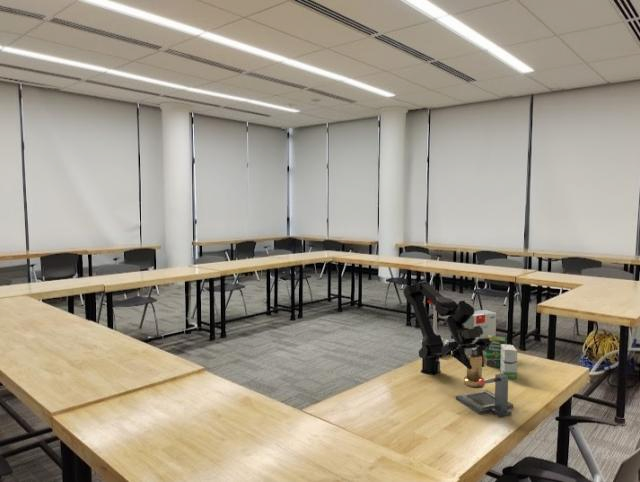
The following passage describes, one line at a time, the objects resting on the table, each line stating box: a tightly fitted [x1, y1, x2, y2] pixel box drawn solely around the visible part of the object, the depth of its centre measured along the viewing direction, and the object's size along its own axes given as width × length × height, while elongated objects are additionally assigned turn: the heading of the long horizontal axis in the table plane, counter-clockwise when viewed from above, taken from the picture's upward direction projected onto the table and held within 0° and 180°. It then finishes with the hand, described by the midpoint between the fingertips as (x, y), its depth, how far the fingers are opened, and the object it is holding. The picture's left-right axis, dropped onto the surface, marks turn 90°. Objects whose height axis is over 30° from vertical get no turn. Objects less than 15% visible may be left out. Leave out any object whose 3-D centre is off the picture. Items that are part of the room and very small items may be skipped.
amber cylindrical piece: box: [463, 350, 485, 389], centre depth 161 cm, size 7×7×12 cm
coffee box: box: [485, 335, 507, 368], centre depth 194 cm, size 8×3×13 cm, turn 59°
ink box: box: [499, 343, 518, 380], centre depth 183 cm, size 9×5×12 cm, turn 168°
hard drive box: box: [463, 309, 497, 357], centre depth 209 cm, size 16×8×20 cm, turn 117°
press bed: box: [455, 372, 514, 418], centre depth 155 cm, size 17×16×13 cm
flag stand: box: [420, 289, 450, 347], centre depth 213 cm, size 13×13×30 cm
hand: (476, 367), depth 160 cm, fingers closed on amber cylindrical piece, 5 cm apart
